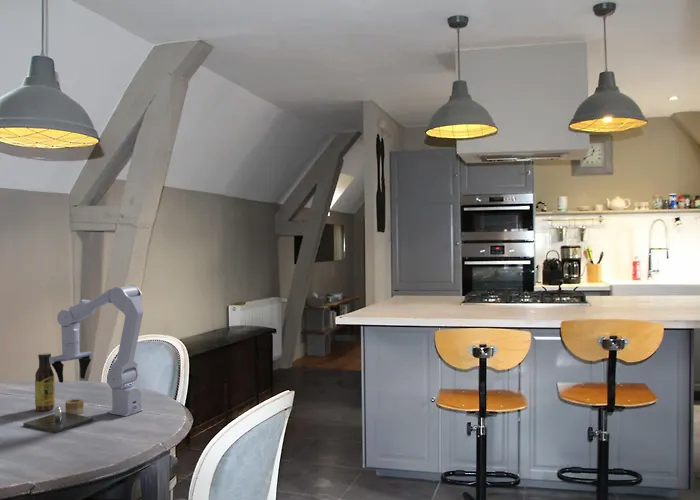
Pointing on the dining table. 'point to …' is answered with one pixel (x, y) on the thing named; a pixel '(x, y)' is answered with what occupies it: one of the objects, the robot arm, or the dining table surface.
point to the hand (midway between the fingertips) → (71, 380)
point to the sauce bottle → (44, 384)
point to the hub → (58, 421)
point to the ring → (75, 406)
